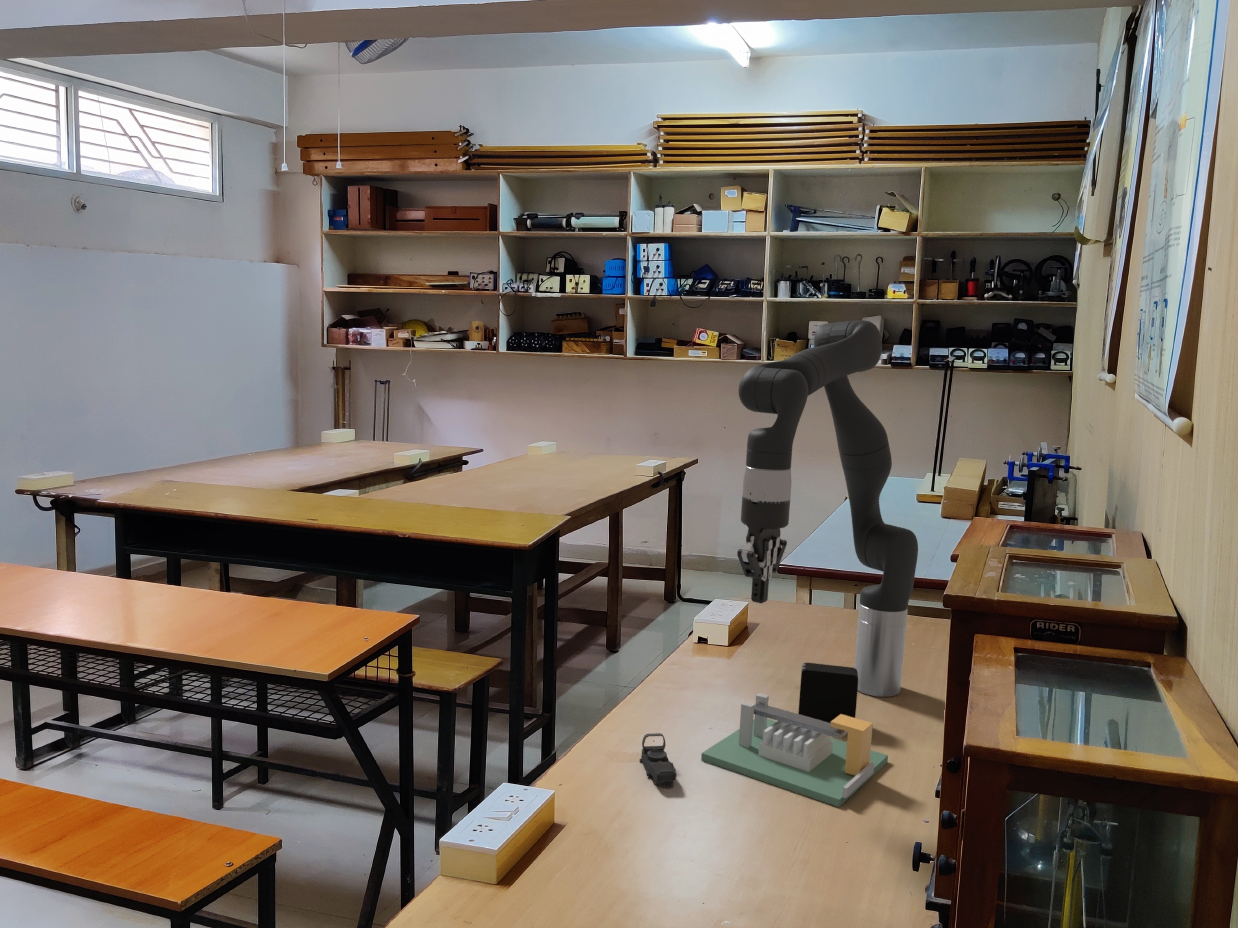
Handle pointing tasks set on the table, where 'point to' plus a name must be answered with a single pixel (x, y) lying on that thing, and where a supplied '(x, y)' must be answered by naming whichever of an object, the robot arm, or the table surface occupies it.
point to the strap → (798, 720)
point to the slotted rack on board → (790, 757)
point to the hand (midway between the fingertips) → (759, 601)
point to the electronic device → (828, 691)
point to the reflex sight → (658, 763)
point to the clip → (855, 742)
